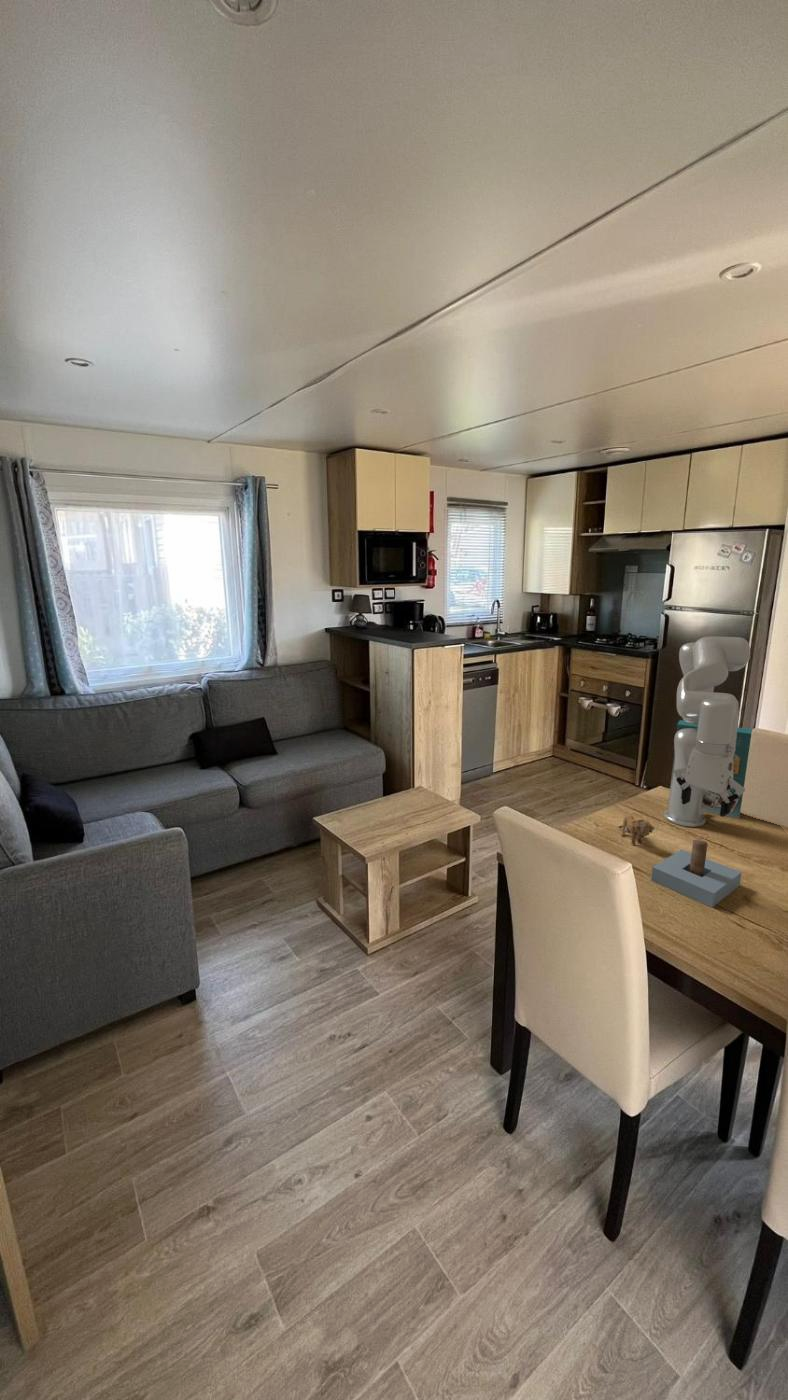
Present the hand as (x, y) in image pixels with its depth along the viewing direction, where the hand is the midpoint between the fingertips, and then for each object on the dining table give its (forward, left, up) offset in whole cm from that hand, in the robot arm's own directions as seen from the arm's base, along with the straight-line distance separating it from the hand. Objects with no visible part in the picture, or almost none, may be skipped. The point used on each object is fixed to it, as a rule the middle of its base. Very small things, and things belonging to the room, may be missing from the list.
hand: (704, 808), depth 148 cm
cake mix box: (-51, -21, -22) cm, 59 cm away
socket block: (0, 0, -22) cm, 22 cm away
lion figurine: (-10, -23, -22) cm, 34 cm away
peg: (0, 0, -22) cm, 22 cm away
